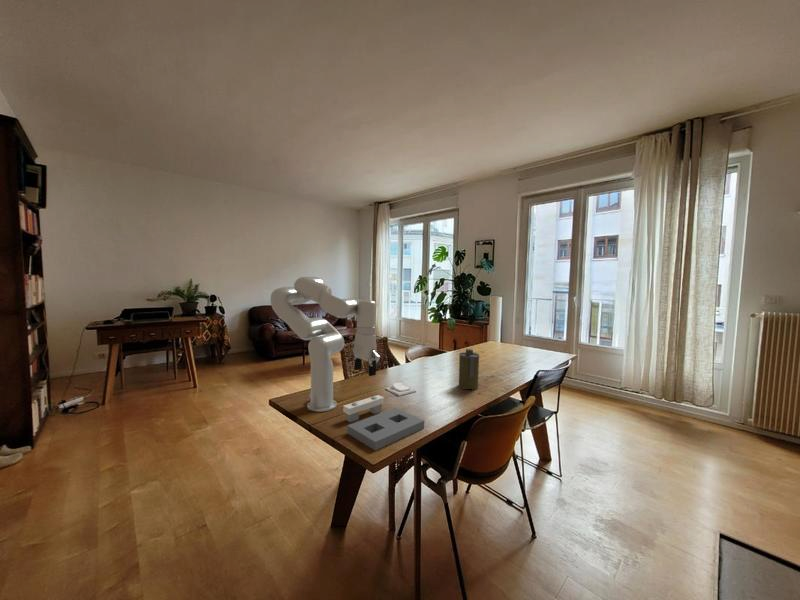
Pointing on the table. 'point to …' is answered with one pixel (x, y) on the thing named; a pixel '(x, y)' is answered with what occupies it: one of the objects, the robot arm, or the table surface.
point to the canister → (468, 370)
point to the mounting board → (385, 428)
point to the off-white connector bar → (363, 407)
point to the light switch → (400, 389)
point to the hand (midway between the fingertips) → (364, 372)
